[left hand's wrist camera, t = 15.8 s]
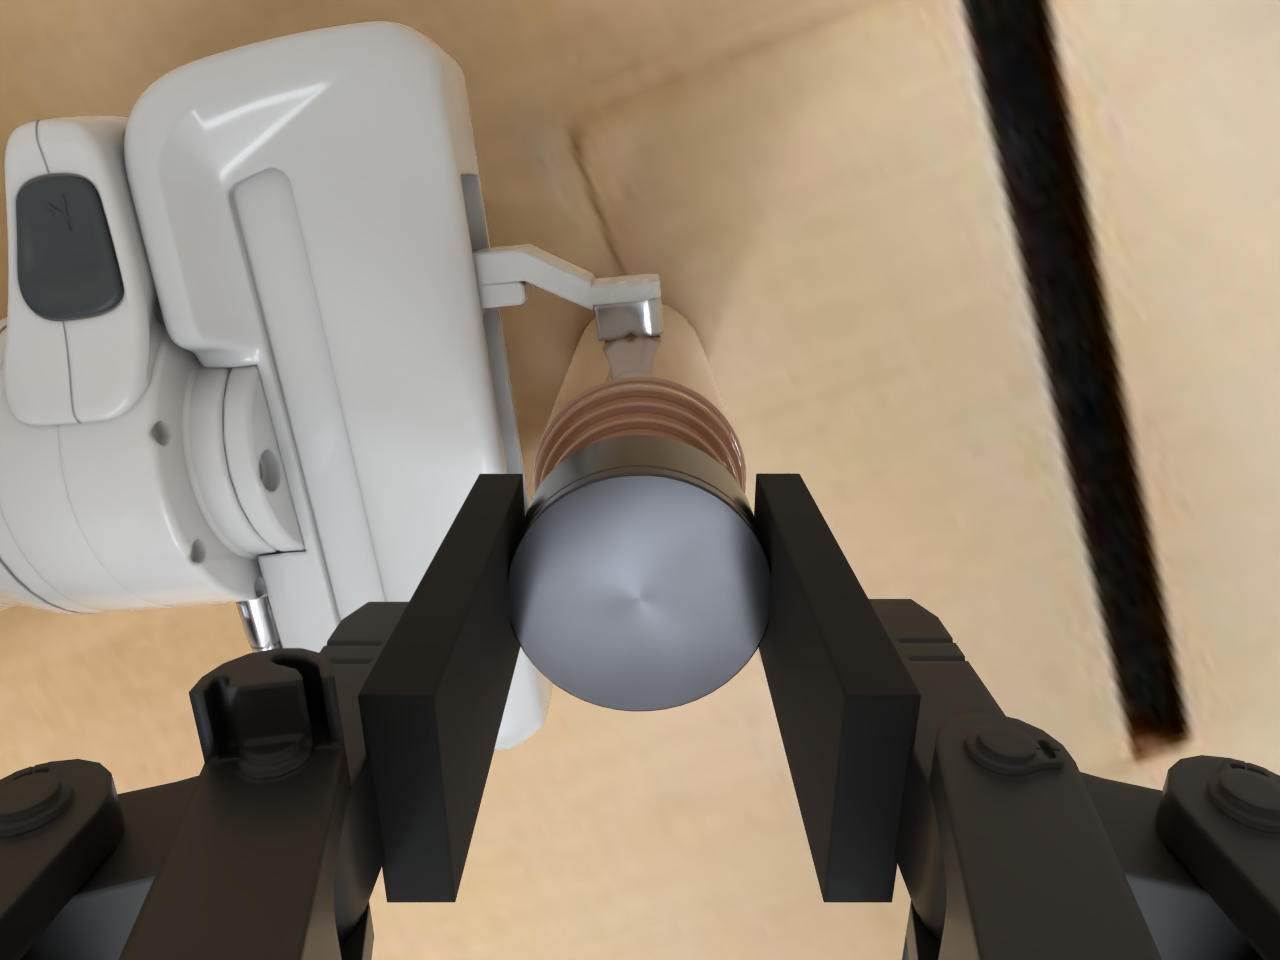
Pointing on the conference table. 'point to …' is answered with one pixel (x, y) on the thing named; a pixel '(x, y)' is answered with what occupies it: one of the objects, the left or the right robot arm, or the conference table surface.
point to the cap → (639, 575)
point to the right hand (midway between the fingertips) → (670, 408)
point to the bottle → (640, 397)
